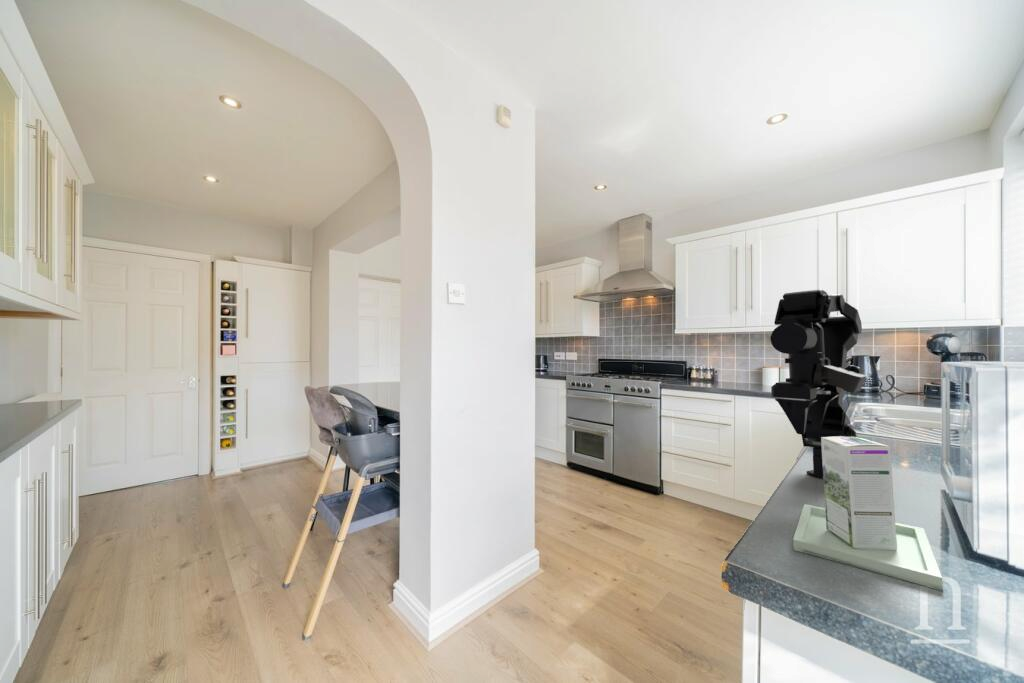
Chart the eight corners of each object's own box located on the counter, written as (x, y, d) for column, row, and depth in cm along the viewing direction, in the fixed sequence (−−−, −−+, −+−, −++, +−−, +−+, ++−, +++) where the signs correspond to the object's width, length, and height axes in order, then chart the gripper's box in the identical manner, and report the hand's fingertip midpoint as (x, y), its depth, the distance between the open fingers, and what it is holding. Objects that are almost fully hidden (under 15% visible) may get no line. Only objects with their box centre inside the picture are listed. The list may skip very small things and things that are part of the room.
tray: (804, 512, 65) (804, 503, 65) (924, 538, 55) (923, 528, 55) (793, 549, 53) (793, 539, 53) (943, 591, 43) (942, 577, 43)
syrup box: (899, 551, 51) (894, 445, 51) (851, 549, 52) (846, 444, 52) (866, 531, 57) (861, 435, 57) (823, 529, 57) (819, 435, 58)
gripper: (843, 353, 63) (847, 446, 62) (873, 351, 73) (877, 431, 73) (768, 354, 72) (771, 435, 72) (805, 352, 83) (808, 423, 82)
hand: (809, 431), depth 74 cm, fingers open, 9 cm apart
